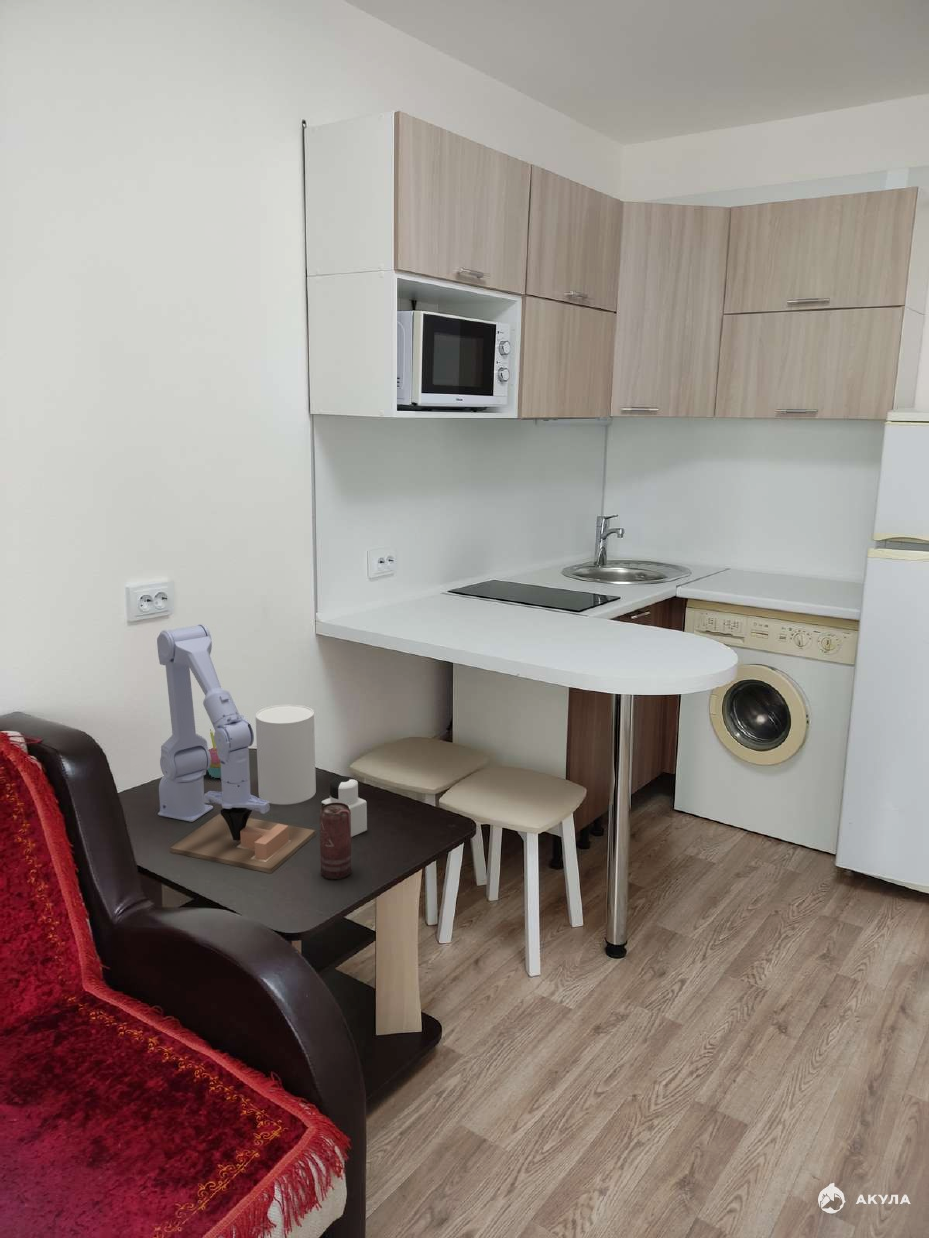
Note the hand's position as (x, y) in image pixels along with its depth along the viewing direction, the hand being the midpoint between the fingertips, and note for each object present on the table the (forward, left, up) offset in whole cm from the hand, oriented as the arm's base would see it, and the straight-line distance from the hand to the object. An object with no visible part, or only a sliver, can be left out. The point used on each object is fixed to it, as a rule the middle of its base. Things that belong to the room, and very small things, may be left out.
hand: (238, 838), depth 190 cm
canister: (-5, +28, -2) cm, 29 cm away
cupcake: (-26, +31, -2) cm, 40 cm away
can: (+24, -2, -2) cm, 24 cm away
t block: (+5, 0, -1) cm, 5 cm away
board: (0, +2, -2) cm, 3 cm away
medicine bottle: (+17, +15, -2) cm, 23 cm away
